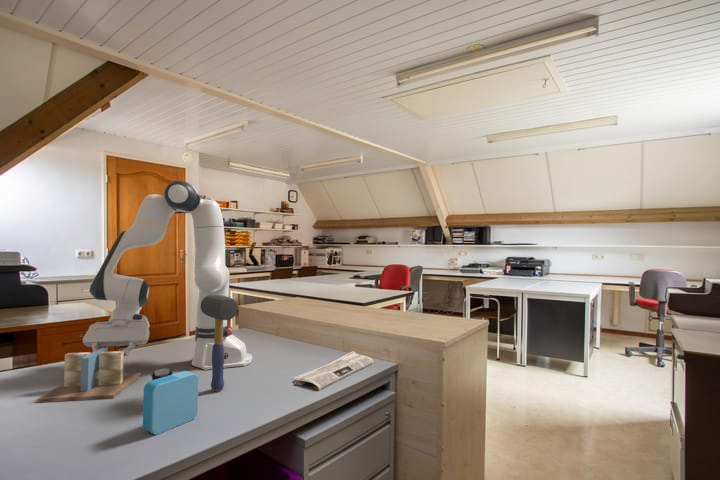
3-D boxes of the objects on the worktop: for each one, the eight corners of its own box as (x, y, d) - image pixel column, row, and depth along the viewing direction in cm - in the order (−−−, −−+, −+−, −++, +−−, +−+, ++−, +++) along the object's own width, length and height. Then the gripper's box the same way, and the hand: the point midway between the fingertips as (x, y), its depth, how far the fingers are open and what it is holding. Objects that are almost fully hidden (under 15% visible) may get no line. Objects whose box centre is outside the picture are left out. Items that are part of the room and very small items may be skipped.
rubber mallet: (238, 392, 116) (240, 295, 117) (216, 399, 111) (217, 298, 111) (218, 382, 124) (220, 292, 125) (196, 388, 119) (198, 294, 119)
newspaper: (319, 392, 118) (319, 381, 118) (290, 384, 125) (290, 373, 125) (375, 364, 147) (375, 355, 147) (349, 358, 154) (349, 350, 154)
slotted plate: (100, 377, 124) (101, 347, 125) (107, 377, 125) (107, 347, 125) (80, 391, 113) (81, 358, 113) (87, 391, 113) (88, 358, 113)
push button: (176, 407, 105) (177, 371, 105) (155, 412, 101) (156, 375, 101) (168, 400, 110) (168, 366, 110) (148, 405, 106) (148, 370, 106)
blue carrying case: (188, 413, 101) (188, 369, 101) (198, 418, 98) (198, 372, 99) (142, 431, 91) (143, 382, 91) (152, 437, 88) (153, 386, 89)
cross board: (140, 375, 130) (141, 343, 130) (113, 398, 110) (114, 361, 111) (76, 378, 127) (77, 345, 127) (37, 402, 107) (38, 364, 107)
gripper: (88, 317, 134) (72, 352, 124) (150, 316, 138) (139, 349, 128) (94, 327, 138) (79, 361, 128) (154, 325, 142) (143, 358, 132)
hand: (109, 355), depth 128 cm, fingers open, 8 cm apart
